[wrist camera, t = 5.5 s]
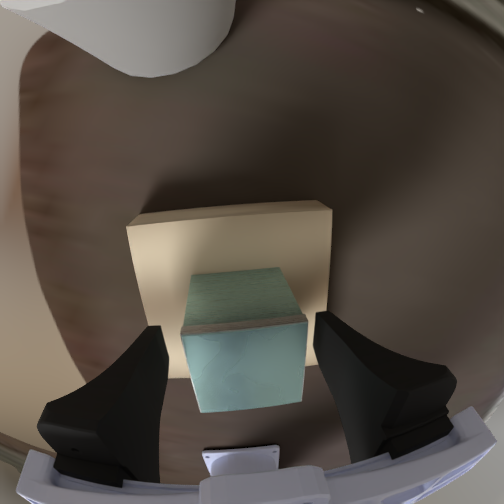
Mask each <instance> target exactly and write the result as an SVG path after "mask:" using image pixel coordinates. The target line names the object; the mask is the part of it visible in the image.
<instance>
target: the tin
mask: <svg viewBox="0 0 504 504" xmlns="http://www.w3.org/2000/svg"><path fill="white" fill-rule="evenodd" d="M308 323H309V321H308V319H307V317H306V315H305V314H303V313H302V311H301V309H300V307H299V305H298V303H297V301H296V299H295V297H294V295H293V293H292V291H291V289H290V287H289V285H288V283H287V281H286V279H285V277H284V275H283V273H282V271H281V269H280V267H274V268H264V269H253V270H242V271H231V272H220V273H209V274H197V275H191V279H190V285H189V291H188V297H187V304H186V310H185V316H184V323H183V326H181V331H180V337H181V341H182V345H183V349H184V353H185V357H186V361H187V365H188V369H189V373H190V377H191V381H192V384H193V388H194V391H195V395H196V398H197V402H198V405H199V409H200V412H202V413H204V412H221V411H233V410H243V409H253V408H261V407H269V406H276V405H282V404H289V403H295V402H300V401H302V394H303V384H304V374H305V363H306V351H307V338H308Z"/></svg>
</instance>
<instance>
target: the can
mask: <svg viewBox="0 0 504 504" xmlns="http://www.w3.org/2000/svg"><path fill="white" fill-rule="evenodd" d="M235 3H236V0H0V4H1V6H2V7H3V8H5V9H7V10H10V11H12V12H14V13H16V14H18V15H20V16H22V17H24V18H26V19H28V20H30V21H32V22H34V23H36V24H38V25H40V26H42V27H44V28H46V29H48V30H50V31H51V32H53V33H55V34H57V35H59V36H61V37H62V38H64V39H66V40H68V41H70V42H71V43H73V44H75V45H77V46H78V47H80V48H82V49H83V50H85V51H87V52H88V53H90V54H92V55H93V56H95V57H97V58H98V59H100V60H102V61H103V62H105V63H106V64H108V65H110V66H111V67H113V68H115V69H117V70H119V71H121V72H124V73H126V74H128V75H130V76H140V77H150V78H153V77H158V76H164V75H171V74H175V73H177V72H180V71H182V70H184V69H187V68H189V67H192V66H194V65H196V64H198V63H199V62H200V61H202V60H203V59H204V58H206V57H207V56H208V55H210V54H211V53H213V52H214V51H215V50H216V49H217V47H218V46H219V45H220V44H221V42H222V41H223V40H224V39H225V37H226V36H227V35H228V32H229V29H230V26H231V24H232V21H233V18H234V11H235Z"/></svg>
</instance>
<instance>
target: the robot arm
mask: <svg viewBox="0 0 504 504" xmlns="http://www.w3.org/2000/svg"><path fill="white" fill-rule="evenodd" d="M313 349H314V352H315V356H316V359H317V362H318V365H319V367H320V369H321V371H322V373H323V376H324V378H325V380H326V382H327V384H328V386H329V389H330V391H331V393H332V395H333V397H334V400H335V403H336V405H337V408H338V412H339V415H340V418H341V422H342V425H343V429H344V433H345V436H346V441H347V445H348V449H349V454H350V459H351V464H350V465H347V466H343V467H339V468H335V469H331V470H327V471H323V470H322V468H320V467H316V466H311V465H307V466H296V467H290V468H283V469H278V465H279V450H280V448H279V446H278V445H270V446H262V447H252V448H241V449H227V450H205V451H203V452H202V456H203V458H204V461H205V463H206V465H207V468H208V470H209V472H210V474H211V477H209V478H206V479H204V480H202V481H201V482H200V485H174V484H160V475H159V428H160V417H161V410H162V405H163V400H164V395H165V390H166V385H167V380H168V373H169V354H168V351H167V347H166V344H165V340H164V336H163V332H162V329H161V325H154V326H148V327H147V328H146V329H145V330H144V331H143V332H142V333H141V334H140V336H139V337H138V338H137V339H136V340H135V341H134V342H133V344H132V345H131V346H130V347H129V348H128V349H127V350H126V351H125V352H124V353H123V354H122V355H121V356H120V357H119V358H118V359H117V360H116V361H115V362H114V363H113V364H112V365H111V366H110V367H109V368H108V369H106V370H105V371H104V372H103V373H101V374H100V375H99V376H97V377H96V378H95V379H93V380H92V381H90V382H89V383H87V384H86V385H84V386H83V387H81V388H79V389H77V390H76V391H74V392H72V393H70V394H68V395H66V396H63V397H61V398H59V399H56V400H54V401H51V402H48V403H47V404H46V406H45V408H44V410H43V412H42V415H41V417H40V419H39V421H38V424H37V429H38V431H39V433H40V434H41V436H42V437H43V439H44V440H45V441H46V442H47V443H48V444H49V445H50V446H51V447H52V448H53V449H54V450H55V452H57V456H56V459H55V458H53V457H51V456H49V455H47V454H44V453H41V452H38V451H35V450H30V451H29V453H28V456H27V459H26V461H25V464H24V467H23V470H22V473H21V476H20V479H19V482H18V485H17V488H16V492H17V493H18V494H19V495H21V496H22V497H23V498H25V499H26V500H28V501H29V502H31V503H32V504H413V503H415V502H417V501H419V500H421V499H423V498H425V497H426V496H428V495H430V494H432V493H434V492H435V491H437V490H438V489H440V488H442V487H444V486H445V485H447V484H448V483H450V482H452V481H453V480H455V479H457V478H458V477H460V476H461V475H463V474H464V473H466V472H468V471H469V470H470V469H471V468H473V466H475V464H477V463H478V462H479V461H480V460H481V459H482V458H483V457H484V456H485V455H486V454H487V453H488V452H489V451H490V450H491V448H492V447H493V446H494V445H495V444H496V443H497V440H496V439H495V437H494V436H493V434H492V433H491V431H490V430H489V429H488V427H487V426H486V425H485V423H484V422H483V420H482V419H481V417H480V416H479V415H478V413H477V412H476V411H475V409H474V408H473V407H472V406H470V407H469V408H467V409H465V410H463V411H461V412H460V413H458V414H456V415H454V416H453V417H452V418H451V419H450V420H449V418H448V417H447V414H448V413H449V410H448V409H447V407H446V404H447V403H448V401H449V399H450V398H451V396H452V394H453V392H454V390H455V388H456V384H457V380H456V378H455V376H454V375H453V374H452V373H451V371H450V370H449V369H448V368H447V367H446V366H445V365H439V364H433V363H427V362H423V361H419V360H416V359H412V358H409V357H406V356H403V355H401V354H398V353H395V352H393V351H391V350H388V349H386V348H384V347H382V346H380V345H378V344H376V343H375V342H373V341H371V340H370V339H368V338H366V337H365V336H363V335H361V334H360V333H358V332H357V331H355V330H354V329H353V328H351V327H350V326H348V325H347V324H346V323H344V322H343V321H342V320H340V319H339V318H338V317H336V316H335V315H334V314H332V313H331V312H329V311H320V312H316V314H315V326H314V336H313Z"/></svg>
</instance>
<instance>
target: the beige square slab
mask: <svg viewBox="0 0 504 504" xmlns="http://www.w3.org/2000/svg"><path fill="white" fill-rule="evenodd" d="M126 228H127V234H128V239H129V244H130V249H131V254H132V259H133V264H134V269H135V273H136V277H137V282H138V286H139V290H140V294H141V298H142V302H143V306H144V310H145V313H146V317H147V321H148V324H149V326H154V325H161V329H162V332H163V336H164V340H165V344H166V347H167V351H168V354H169V373H168V378H191V377H190V373H189V369H188V365H187V361H186V357H185V353H184V349H183V345H182V341H181V337H180V331H181V326H183V323H184V316H185V310H186V304H187V297H188V291H189V285H190V279H191V275H197V274H209V273H220V272H231V271H242V270H253V269H264V268H274V267H280V269H281V271H282V273H283V275H284V277H285V279H286V281H287V283H288V285H289V287H290V289H291V291H292V293H293V295H294V297H295V299H296V301H297V303H298V305H299V307H300V309H301V311H302V313H303V314H305V315H306V317H307V319H308V321H309V323H308V338H307V351H306V363H305V366H310V365H316V364H318V362H317V359H316V356H315V352H314V349H313V336H314V326H315V314H316V312H320V311H326V308H327V297H328V284H329V271H330V255H331V234H332V210H331V209H330V208H328V207H327V206H325V205H324V204H322V203H321V202H319V201H318V200H304V201H284V202H267V203H252V204H238V205H226V206H214V207H202V208H191V209H181V210H172V211H162V212H153V213H144V214H139V215H138V216H137V217H136V218H135V219H134V220H133V221H132V222H131V223H130V224H129V225H127V226H126Z"/></svg>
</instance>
